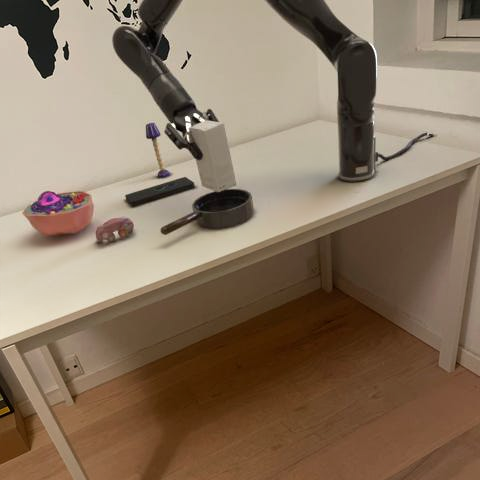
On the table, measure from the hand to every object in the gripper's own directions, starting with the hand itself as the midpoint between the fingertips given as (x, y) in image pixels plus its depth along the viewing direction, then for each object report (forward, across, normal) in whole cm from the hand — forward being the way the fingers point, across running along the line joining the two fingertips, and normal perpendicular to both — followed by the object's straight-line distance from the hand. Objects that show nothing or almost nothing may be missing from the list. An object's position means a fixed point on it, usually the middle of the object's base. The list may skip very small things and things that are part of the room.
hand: (212, 153), depth 114 cm
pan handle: (+10, -13, +9) cm, 19 cm away
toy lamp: (-20, +13, +44) cm, 50 cm away
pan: (+12, 0, +11) cm, 16 cm away
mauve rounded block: (+1, -23, +23) cm, 32 cm away
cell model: (-12, -28, +36) cm, 47 cm away
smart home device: (-11, +2, +34) cm, 36 cm away
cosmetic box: (+6, 0, +6) cm, 8 cm away
